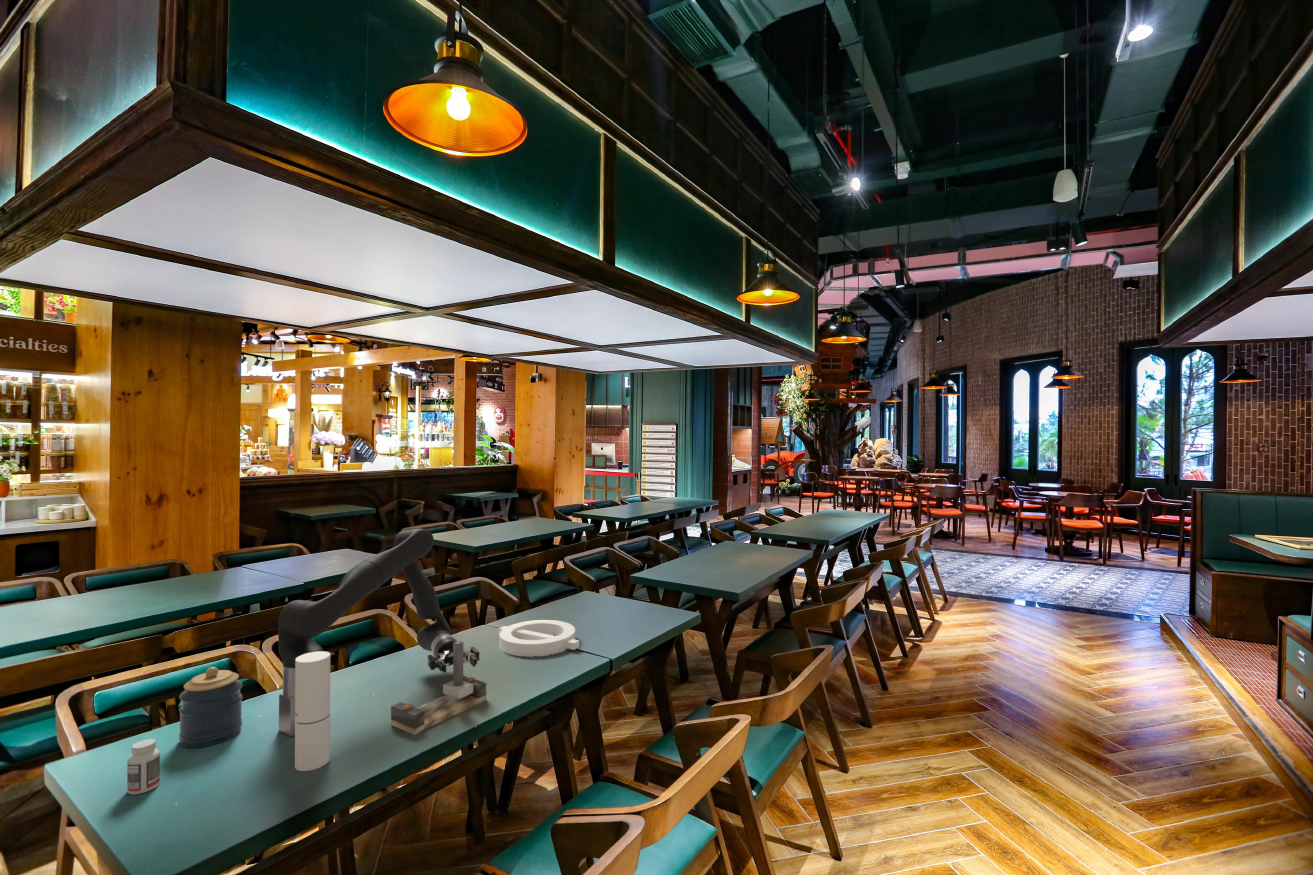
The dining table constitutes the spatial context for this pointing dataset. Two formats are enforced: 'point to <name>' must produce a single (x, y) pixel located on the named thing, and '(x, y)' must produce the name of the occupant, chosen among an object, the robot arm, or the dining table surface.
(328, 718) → the cylindrical container
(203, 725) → the canister
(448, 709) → the rail
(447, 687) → the carriage
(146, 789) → the pill bottle
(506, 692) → the dining table surface
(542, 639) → the white circle with bar
